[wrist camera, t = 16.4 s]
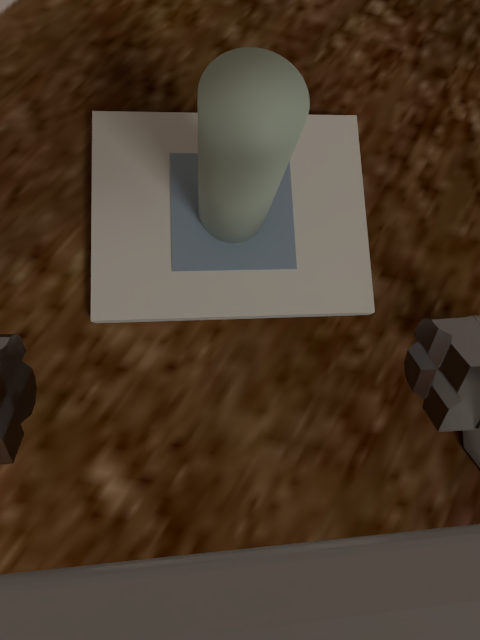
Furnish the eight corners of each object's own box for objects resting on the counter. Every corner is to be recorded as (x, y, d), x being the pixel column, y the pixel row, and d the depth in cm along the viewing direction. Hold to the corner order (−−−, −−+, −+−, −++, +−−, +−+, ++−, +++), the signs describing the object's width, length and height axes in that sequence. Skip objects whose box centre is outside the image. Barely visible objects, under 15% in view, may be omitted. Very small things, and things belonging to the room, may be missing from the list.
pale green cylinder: (199, 243, 26) (199, 150, 16) (197, 178, 27) (196, 44, 16) (267, 242, 27) (312, 152, 16) (264, 179, 27) (306, 49, 17)
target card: (94, 323, 26) (90, 320, 25) (96, 120, 28) (91, 109, 27) (368, 314, 28) (375, 311, 27) (351, 124, 30) (357, 114, 29)
